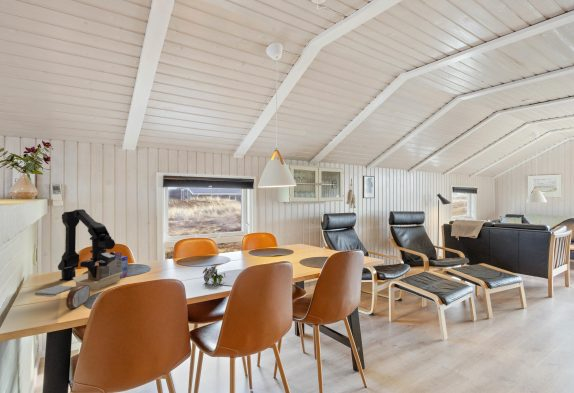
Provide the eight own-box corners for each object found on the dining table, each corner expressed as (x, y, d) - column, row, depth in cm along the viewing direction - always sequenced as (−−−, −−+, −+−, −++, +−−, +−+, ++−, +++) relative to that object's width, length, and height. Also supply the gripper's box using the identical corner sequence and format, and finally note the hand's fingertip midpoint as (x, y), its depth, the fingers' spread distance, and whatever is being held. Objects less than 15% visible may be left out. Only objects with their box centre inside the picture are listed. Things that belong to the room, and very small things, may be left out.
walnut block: (88, 280, 174) (87, 267, 174) (95, 277, 179) (95, 265, 179) (102, 281, 172) (102, 268, 172) (109, 278, 177) (109, 266, 177)
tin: (84, 299, 151) (84, 282, 151) (91, 299, 152) (91, 281, 152) (65, 311, 136) (64, 291, 136) (73, 311, 137) (72, 291, 137)
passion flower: (206, 293, 176) (198, 273, 180) (224, 286, 182) (216, 267, 186) (210, 286, 167) (202, 266, 172) (229, 279, 173) (220, 259, 178)
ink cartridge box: (128, 276, 193) (128, 252, 193) (122, 278, 188) (121, 254, 188) (114, 275, 195) (113, 251, 195) (107, 278, 190) (107, 253, 190)
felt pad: (34, 294, 160) (34, 292, 160) (56, 287, 172) (56, 285, 172) (54, 295, 158) (54, 293, 158) (75, 288, 169) (75, 286, 169)
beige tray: (72, 288, 170) (72, 277, 170) (96, 280, 185) (96, 270, 185) (101, 290, 166) (101, 279, 166) (123, 281, 182) (123, 271, 182)
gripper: (97, 251, 165) (97, 282, 165) (123, 245, 183) (123, 272, 183) (79, 251, 167) (79, 280, 167) (106, 245, 185) (106, 272, 185)
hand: (98, 276), depth 176 cm, fingers closed on walnut block, 5 cm apart
